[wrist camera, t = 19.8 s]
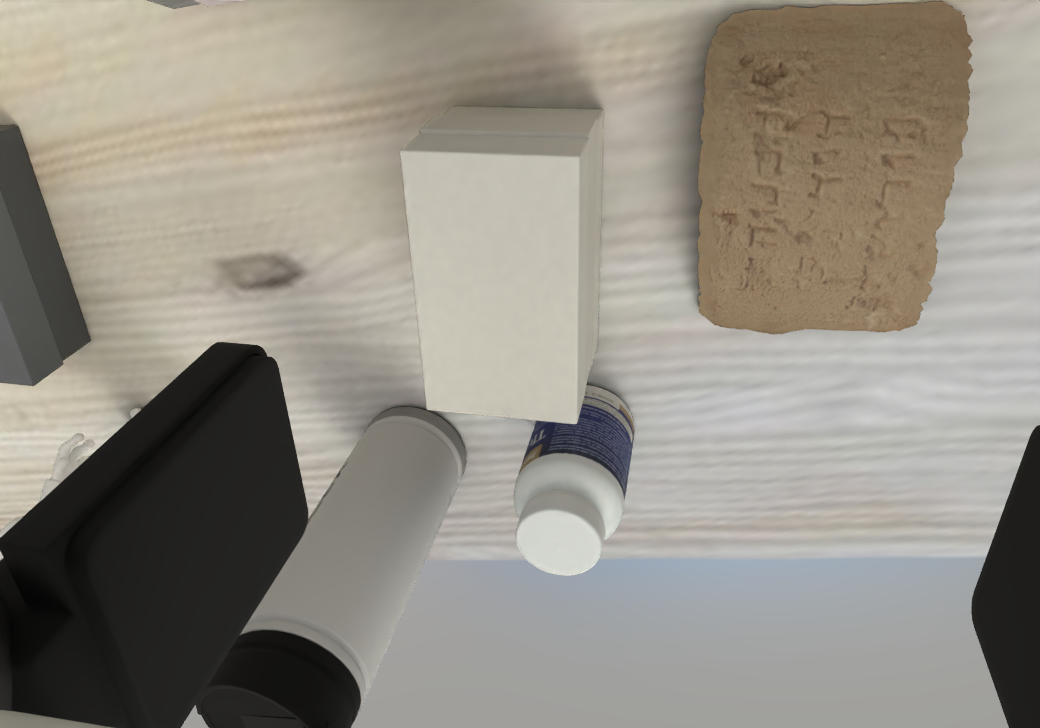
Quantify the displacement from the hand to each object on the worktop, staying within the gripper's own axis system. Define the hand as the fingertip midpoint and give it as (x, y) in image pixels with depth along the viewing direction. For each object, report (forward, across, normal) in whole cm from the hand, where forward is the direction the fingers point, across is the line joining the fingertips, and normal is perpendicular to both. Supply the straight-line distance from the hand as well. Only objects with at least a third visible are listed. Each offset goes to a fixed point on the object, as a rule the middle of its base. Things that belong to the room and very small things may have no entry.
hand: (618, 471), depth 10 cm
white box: (+23, +7, +8) cm, 26 cm away
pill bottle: (+28, +4, +19) cm, 34 cm away
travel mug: (+28, +14, +22) cm, 39 cm away
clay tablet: (+28, -6, +5) cm, 30 cm away
